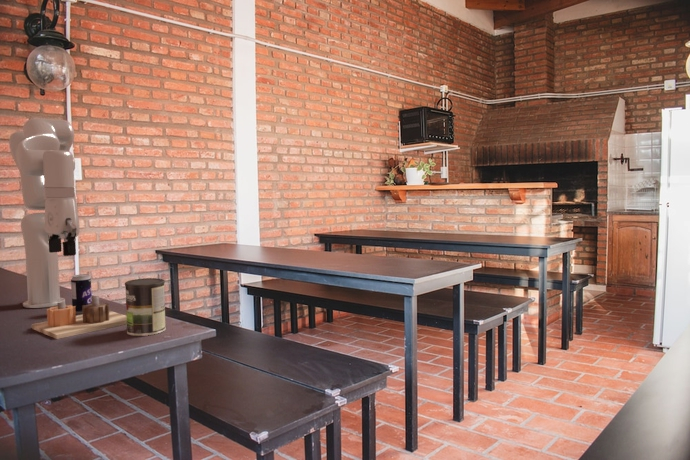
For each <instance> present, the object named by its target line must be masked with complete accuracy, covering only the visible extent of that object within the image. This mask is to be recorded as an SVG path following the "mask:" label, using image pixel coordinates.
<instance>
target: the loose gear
mask: <svg viewBox="0 0 690 460" xmlns="http://www.w3.org/2000/svg"><path fill="white" fill-rule="evenodd" d="M76 316H77V315H76V311H75V306H72V304H69V305H67V304H66V308H65V309H58V305H57V306H51V307H49V308H47V309H46V318H47V319H46V320H47V321H48V325H50V326H52V327H53V326H64V325H69V324H70V325H71V324H73V322H76ZM47 321H46V322H47Z"/></svg>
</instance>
